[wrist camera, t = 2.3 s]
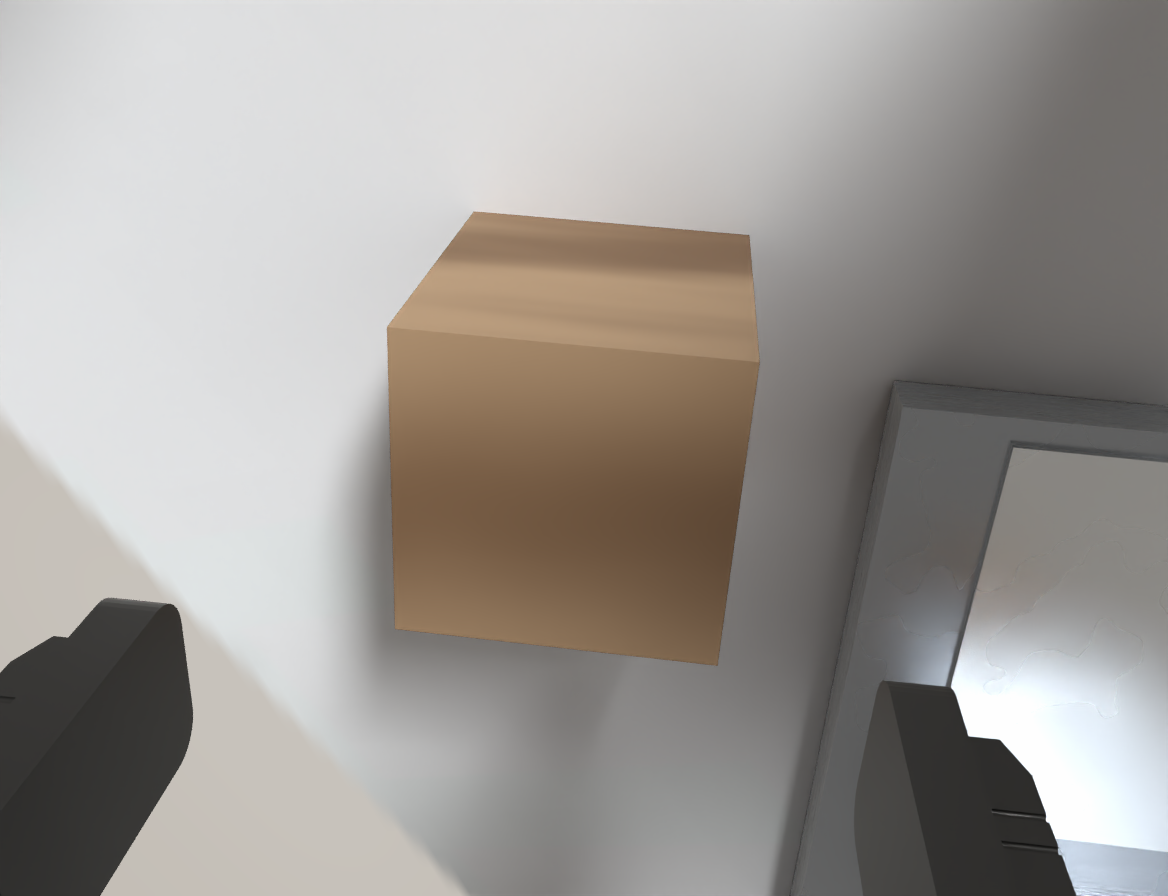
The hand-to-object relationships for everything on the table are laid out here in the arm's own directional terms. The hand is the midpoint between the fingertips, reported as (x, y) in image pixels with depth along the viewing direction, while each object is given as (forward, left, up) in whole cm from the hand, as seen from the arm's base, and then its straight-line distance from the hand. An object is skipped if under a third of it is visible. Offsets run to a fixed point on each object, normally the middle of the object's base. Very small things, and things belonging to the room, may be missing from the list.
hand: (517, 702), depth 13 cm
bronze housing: (0, 0, -10) cm, 10 cm away
